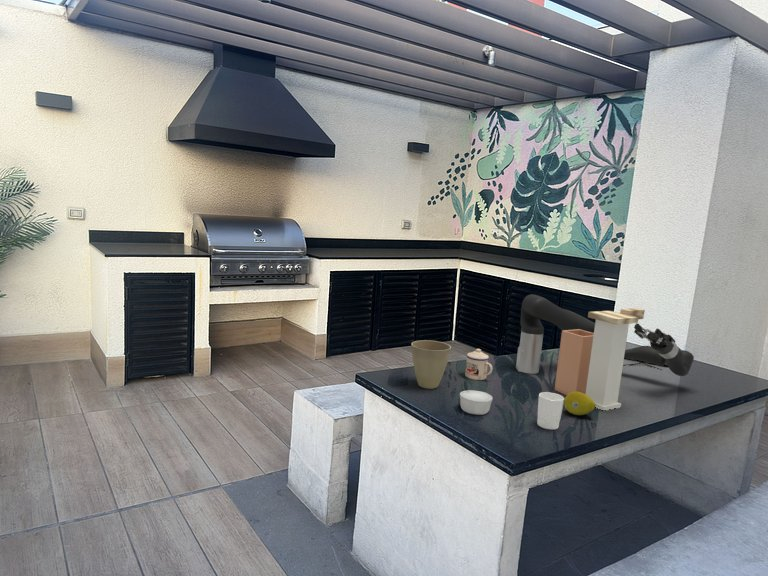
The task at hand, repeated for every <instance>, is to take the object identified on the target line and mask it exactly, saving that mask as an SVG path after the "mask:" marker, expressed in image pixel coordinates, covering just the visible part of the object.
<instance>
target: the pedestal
mask: <svg viewBox="0 0 768 576" xmlns="http://www.w3.org/2000/svg"><path fill="white" fill-rule="evenodd" d="M594 323H595V329H594V336H593V344H592V351H591V358H590V365H589V372H588V380H587V387H586V395H587V396H589V397H590V398H591V399H592V400H593V402H595V404H596V406H595V407H596V408H595V409H597V408H598V409H597V410H599V409H601V410H606V411H610V410H609V409H611V410H615V409H614V408H616V409H620V407H621V408H622V403H620V402H618V400H619V393H620V388H621V387H620V386H621V379H622V372H623V367H624V366H623V365H624V361H625V360H624V359H625V358H624V354H625V350H626V347H627V346H626V345H627V341H628V332H629V327H630V324H619V325H616V324H612V323H608V322H604V321H600V320H596V319H595V322H594ZM601 410H600V411H601Z"/></svg>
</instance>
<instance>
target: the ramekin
mask: <svg viewBox="0 0 768 576" xmlns="http://www.w3.org/2000/svg"><path fill="white" fill-rule="evenodd" d="M459 398H460V399H459V403H460V407H461V409H462V410H463V411H464V412H465V413H467V414H472V415H486V414H487V413H488V412H490V408H491V405H492V402H493V396H492V395H491V394H489V393H488V392H485V391H480V390H472V389H469V390H463V391H461V392H459Z"/></svg>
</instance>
